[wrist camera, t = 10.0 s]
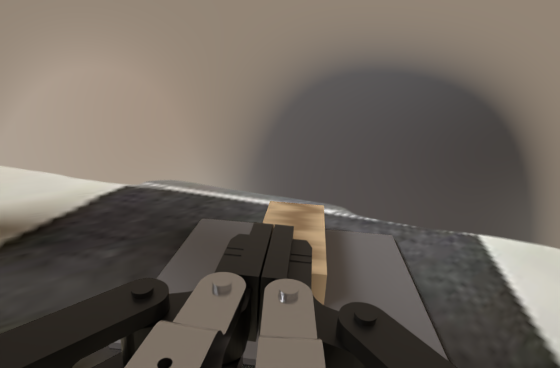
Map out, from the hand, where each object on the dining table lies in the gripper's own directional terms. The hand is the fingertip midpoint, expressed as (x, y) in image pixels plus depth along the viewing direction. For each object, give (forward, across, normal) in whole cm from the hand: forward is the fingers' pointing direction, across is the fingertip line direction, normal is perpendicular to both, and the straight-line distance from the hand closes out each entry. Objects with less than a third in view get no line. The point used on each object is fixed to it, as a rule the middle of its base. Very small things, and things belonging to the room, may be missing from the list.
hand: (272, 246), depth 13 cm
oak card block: (+11, 0, +10) cm, 15 cm away
